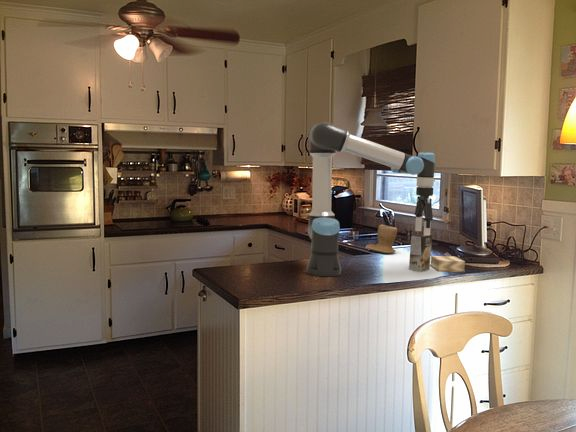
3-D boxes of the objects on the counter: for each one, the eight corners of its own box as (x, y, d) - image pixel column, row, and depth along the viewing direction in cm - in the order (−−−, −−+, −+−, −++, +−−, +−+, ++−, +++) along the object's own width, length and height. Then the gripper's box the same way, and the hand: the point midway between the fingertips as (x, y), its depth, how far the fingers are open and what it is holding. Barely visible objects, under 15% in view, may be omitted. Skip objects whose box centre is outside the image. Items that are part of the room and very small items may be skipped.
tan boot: (400, 253, 297) (402, 225, 295) (385, 255, 289) (387, 227, 287) (379, 249, 308) (380, 222, 307) (364, 250, 301) (366, 223, 299)
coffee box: (421, 272, 250) (423, 236, 248) (408, 269, 254) (410, 235, 252) (430, 269, 257) (432, 235, 255) (417, 267, 261) (419, 233, 259)
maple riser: (438, 271, 252) (438, 260, 252) (429, 266, 265) (430, 255, 264) (464, 272, 253) (465, 261, 253) (455, 266, 265) (456, 256, 265)
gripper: (442, 188, 239) (439, 237, 241) (425, 185, 264) (422, 229, 266) (424, 188, 238) (422, 237, 241) (409, 185, 263) (407, 229, 266)
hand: (422, 233), depth 253 cm, fingers open, 13 cm apart
